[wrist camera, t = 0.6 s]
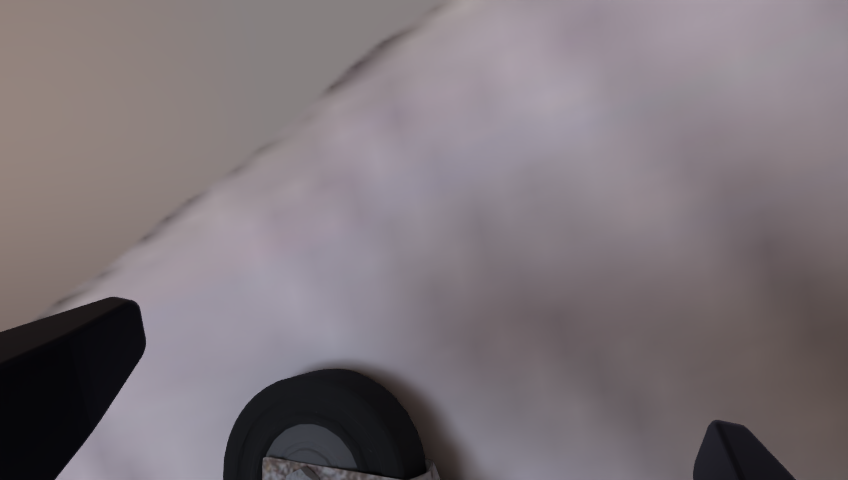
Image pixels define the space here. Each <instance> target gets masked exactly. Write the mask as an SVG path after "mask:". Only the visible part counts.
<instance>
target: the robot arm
mask: <svg viewBox="0 0 848 480" xmlns="http://www.w3.org/2000/svg"><path fill="white" fill-rule="evenodd" d="M145 347H146V337H145V332H144V327H143V321H142V316H141V311H140V307H139V305H138V304H137V303H136V302H135V301H133V300H129V299H124V298H119V297H109V298H105V299H102V300H99V301H96V302H93V303H90V304H87V305H84V306H80V307H77V308H74V309H71V310H68V311H65V312H62V313H59V314H56V315H52V316H49V317H46V318H43V319H40V320H37V321H34V322H31V323H27V324H24V325H21V326H18V327H15V328H12V329H9V330H6V331H2V332H0V480H55V479H56V478H57V476H58V475H59V474H60V473H61V471H62V470H63V469H64V468H65V466H66V465H67V464H68V463H69V461H70V460H71V459H72V458H73V456H74V455H75V454H76V452H77V451H78V450H79V449H80V447H81V446H82V445H83V444H84V442H85V441H86V440H87V438H88V437H89V436H90V434H91V433H92V432H93V430H94V429H95V427H96V426H97V424H98V423H99V422H100V420H101V419H102V417H103V416H104V414H105V413H106V411H107V409H108V408H109V406H110V405H111V403H112V402H113V400H114V399H115V397H116V396H117V394H118V393H119V391H120V389H121V388H122V386H123V385H124V383H125V382H126V380H127V379H128V377H129V376H130V374H131V373H132V371H133V370H134V368H135V366H136V365H137V363H138V362H139V360H140V359H141V357H142V355H143V353H144V351H145ZM693 480H796V479H795V478H794V477H793V476H792V475H791V474H790V473H789V472H788V471H787V470H786V469H785V468H784V466H783V465H782V464H781V463H780V462H779V461H778V460H777V459H776V458H775V457H774V456H773V455H772V454H771V453H770V452H769V451H768V450H767V448H766V447H765V446H764V445H763V444H762V443H761V442H760V441H759V440H758V439H757V438H756V437H755V436H754V435H753V434H752V433H751V432H750V430H748V429H747V428H746V427H745V426H743V425H740V424H736V423H731V422H726V421H721V420H715V421H712V422H711V423H710V425H709V426H708V428H707V431H706V434H705V436H704V439H703V442H702V444H701V447H700V449H699V452H698V455H697V457H696V460H695V464H694V470H693Z"/></svg>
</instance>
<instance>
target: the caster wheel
mask: <svg viewBox="0 0 848 480" xmlns="http://www.w3.org/2000/svg"><path fill="white" fill-rule="evenodd" d="M223 480H440V477H439V475H438V472H437V469H436V467H435V464H434V461H432V460H428V459H425V456H424V452H423V448H422V444H421V441H420V438H419V436H418V433H417V430H416V428H415V426H414V424H413V422H412V421H411V419H410V417H409V415H408V413H407V412H406V410H405V409H404V408H403V407H402V405H401V404H400V403H399V402H398V400H397V399H396V398H395V397H394V396H393V395H392V394H391V393H390V392H389V391H387V390H386V389H385V388H384V387H383V386H381V385H380V384H378V383H377V382H375V381H374V380H372V379H370V378H368V377H366V376H363V375H361V374H359V373H356V372H353V371H349V370H341V369H327V370H318V371H313V372H309V373H305V374H301V375H298V376H294V377H291V378H287V379H284V380H280V381H277V382H275V383H274V384H272V385H270V386H268V387H266V388H265V389H263V390H262V391H261V392H259V393H258V394H257V395H255V396H254V397H253V398H252V399H251V401H250V402H249V403H248V404H247V405H246V406H245V408H244V409H243V410H242V412H241V413H240V415H239V416H238V418H237V420H236V421H235V424H234V426H233V428H232V431H231V433H230V436H229V439H228V442H227V447H226V452H225V457H224V472H223Z"/></svg>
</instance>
